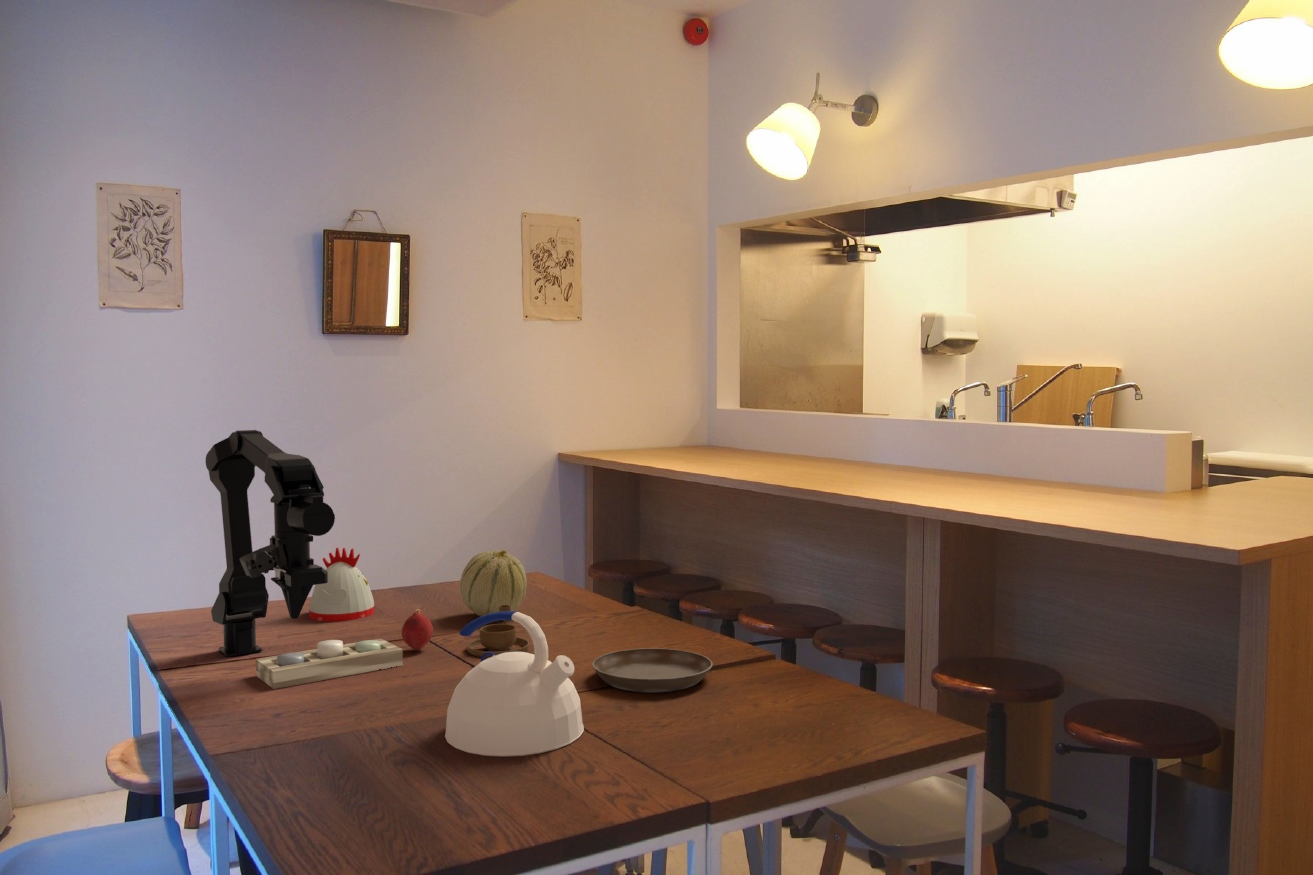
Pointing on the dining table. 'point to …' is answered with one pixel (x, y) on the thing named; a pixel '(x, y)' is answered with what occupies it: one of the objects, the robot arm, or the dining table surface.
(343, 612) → the kitchen timer
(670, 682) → the plant saucer
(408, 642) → the onion
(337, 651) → the button cream
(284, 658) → the button slate
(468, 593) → the cantaloupe
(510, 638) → the place setting
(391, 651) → the wooden compartment tray
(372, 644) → the button sage
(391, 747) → the dining table surface
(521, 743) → the kettle
